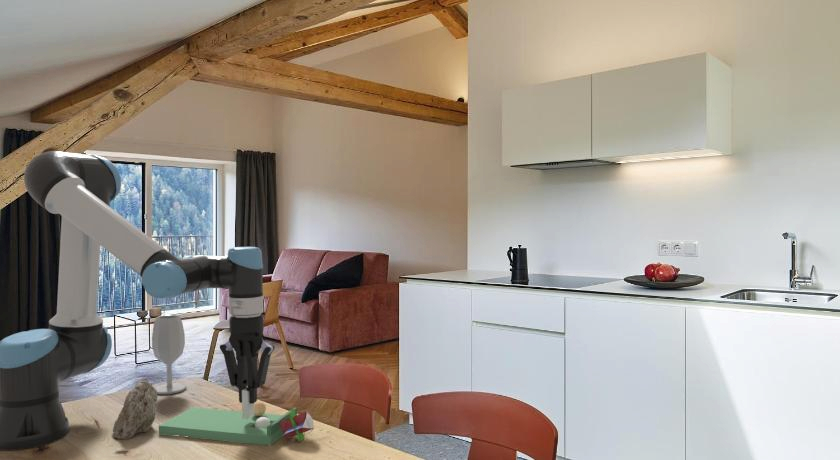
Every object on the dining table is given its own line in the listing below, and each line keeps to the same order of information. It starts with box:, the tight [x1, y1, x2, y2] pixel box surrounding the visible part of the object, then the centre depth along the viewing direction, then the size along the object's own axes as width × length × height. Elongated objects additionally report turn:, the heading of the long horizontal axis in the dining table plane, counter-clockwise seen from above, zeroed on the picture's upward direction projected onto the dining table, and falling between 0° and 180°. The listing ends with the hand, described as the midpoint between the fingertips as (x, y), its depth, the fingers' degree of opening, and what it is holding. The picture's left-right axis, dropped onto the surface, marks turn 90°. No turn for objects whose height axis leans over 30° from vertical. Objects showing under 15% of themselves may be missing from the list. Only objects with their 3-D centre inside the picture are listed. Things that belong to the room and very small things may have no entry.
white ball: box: [255, 417, 271, 429], centre depth 141 cm, size 4×4×4 cm
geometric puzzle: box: [279, 407, 315, 444], centre depth 137 cm, size 7×7×8 cm
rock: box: [112, 380, 158, 440], centre depth 143 cm, size 14×10×8 cm
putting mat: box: [158, 407, 298, 446], centre depth 143 cm, size 28×13×4 cm, turn 76°
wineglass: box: [151, 314, 188, 395], centre depth 173 cm, size 9×9×21 cm
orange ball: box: [254, 400, 267, 417], centre depth 146 cm, size 4×4×4 cm
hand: (248, 416), depth 142 cm, fingers closed
